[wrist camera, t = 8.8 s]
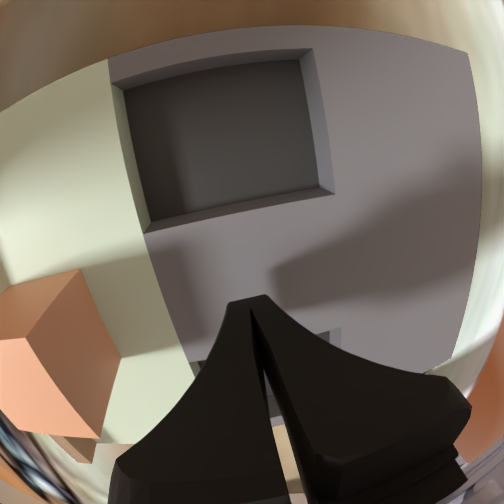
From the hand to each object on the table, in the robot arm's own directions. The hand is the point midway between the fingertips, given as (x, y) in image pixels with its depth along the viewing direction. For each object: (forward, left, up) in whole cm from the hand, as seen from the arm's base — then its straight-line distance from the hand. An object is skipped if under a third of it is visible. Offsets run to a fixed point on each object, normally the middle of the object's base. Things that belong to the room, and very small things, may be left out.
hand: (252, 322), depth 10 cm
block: (0, +8, -2) cm, 8 cm away
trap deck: (0, 0, -4) cm, 4 cm away
